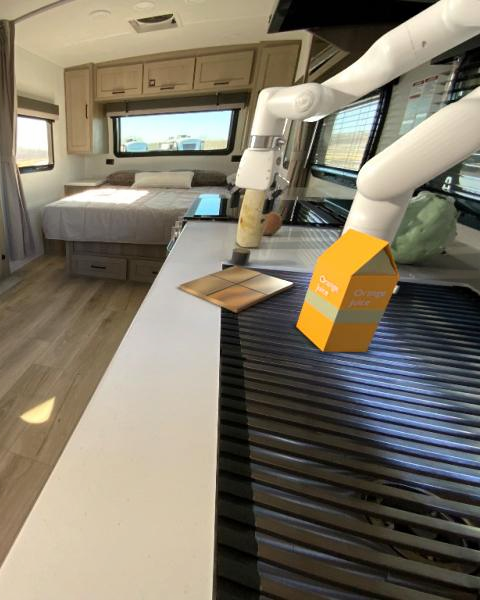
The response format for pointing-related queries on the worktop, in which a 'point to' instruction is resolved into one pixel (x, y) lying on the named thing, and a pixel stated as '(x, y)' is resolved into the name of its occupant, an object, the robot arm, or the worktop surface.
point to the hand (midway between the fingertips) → (249, 210)
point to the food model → (251, 219)
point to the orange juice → (348, 293)
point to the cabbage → (425, 228)
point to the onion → (272, 223)
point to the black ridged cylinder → (240, 256)
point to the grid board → (236, 287)
